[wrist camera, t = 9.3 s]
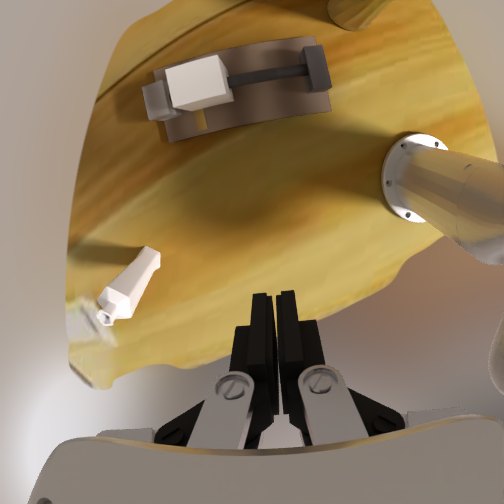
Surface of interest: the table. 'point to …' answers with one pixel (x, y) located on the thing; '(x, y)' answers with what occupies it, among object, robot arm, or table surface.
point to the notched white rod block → (199, 84)
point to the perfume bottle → (127, 287)
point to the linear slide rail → (250, 88)
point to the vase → (355, 12)
